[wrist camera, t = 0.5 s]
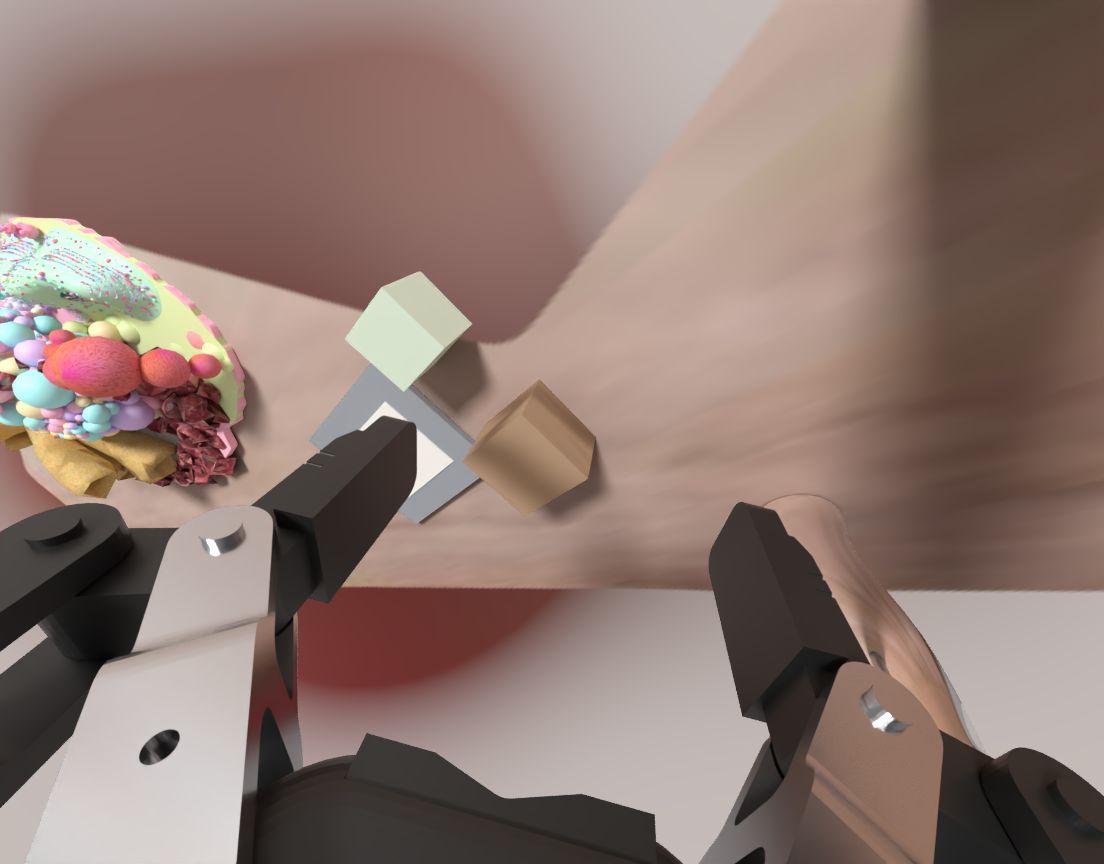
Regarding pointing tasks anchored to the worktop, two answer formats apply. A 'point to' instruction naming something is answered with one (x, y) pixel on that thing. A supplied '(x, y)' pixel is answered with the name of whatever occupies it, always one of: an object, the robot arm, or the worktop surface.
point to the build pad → (435, 438)
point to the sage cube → (407, 329)
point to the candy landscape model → (109, 364)
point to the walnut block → (532, 450)
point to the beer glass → (874, 612)
